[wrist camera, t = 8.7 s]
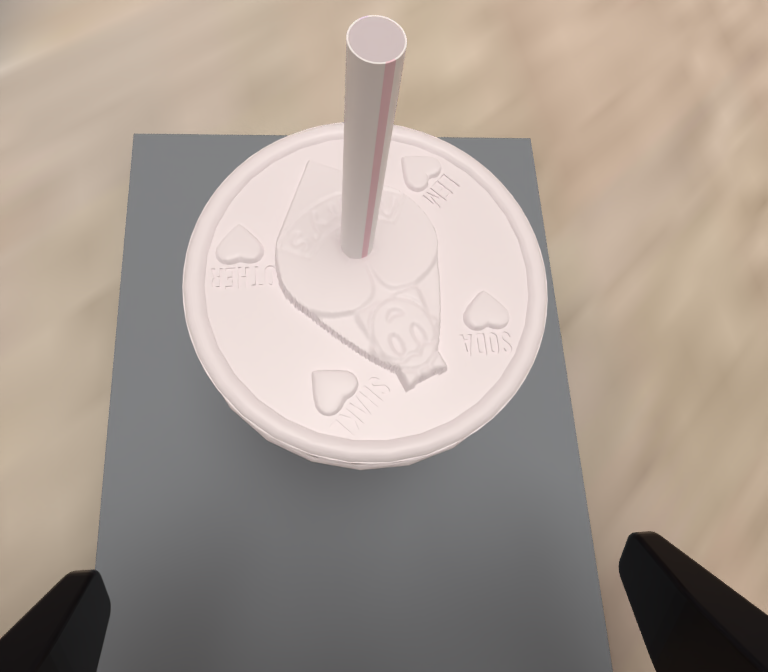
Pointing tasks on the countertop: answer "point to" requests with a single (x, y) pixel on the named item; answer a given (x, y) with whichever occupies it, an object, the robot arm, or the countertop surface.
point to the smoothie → (365, 282)
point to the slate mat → (327, 493)
